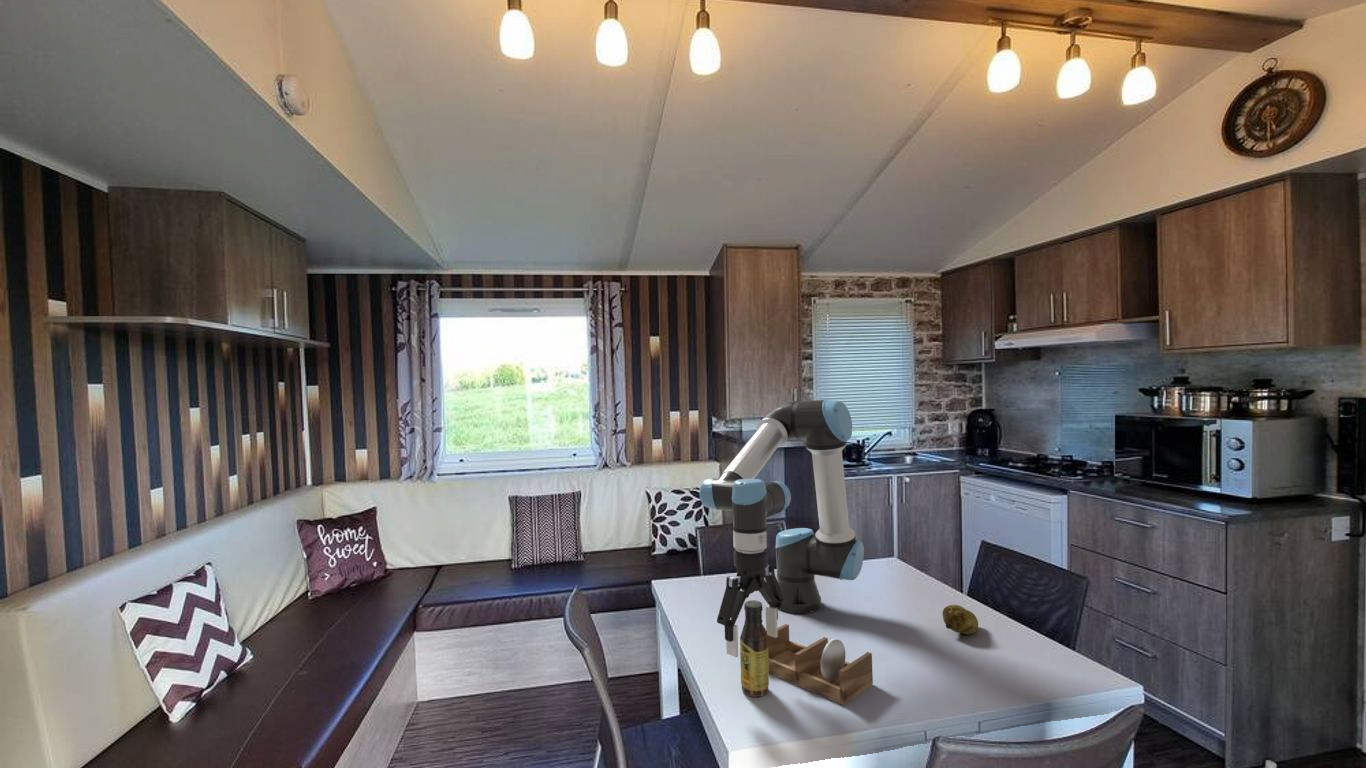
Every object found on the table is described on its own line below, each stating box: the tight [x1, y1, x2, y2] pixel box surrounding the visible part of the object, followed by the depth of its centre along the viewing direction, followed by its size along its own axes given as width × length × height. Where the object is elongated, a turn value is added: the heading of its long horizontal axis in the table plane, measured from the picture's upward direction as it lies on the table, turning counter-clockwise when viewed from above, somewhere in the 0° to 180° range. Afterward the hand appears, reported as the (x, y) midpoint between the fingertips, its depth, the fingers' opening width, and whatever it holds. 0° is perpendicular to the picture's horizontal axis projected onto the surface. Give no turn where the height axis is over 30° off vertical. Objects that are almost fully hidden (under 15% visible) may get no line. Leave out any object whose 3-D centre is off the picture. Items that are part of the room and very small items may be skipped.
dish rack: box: [767, 623, 874, 706], centre depth 132 cm, size 24×12×10 cm, turn 43°
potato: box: [942, 604, 979, 635], centre depth 153 cm, size 8×13×8 cm, turn 114°
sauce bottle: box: [739, 599, 770, 698], centre depth 126 cm, size 7×6×20 cm
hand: (752, 645), depth 126 cm, fingers open, 13 cm apart
